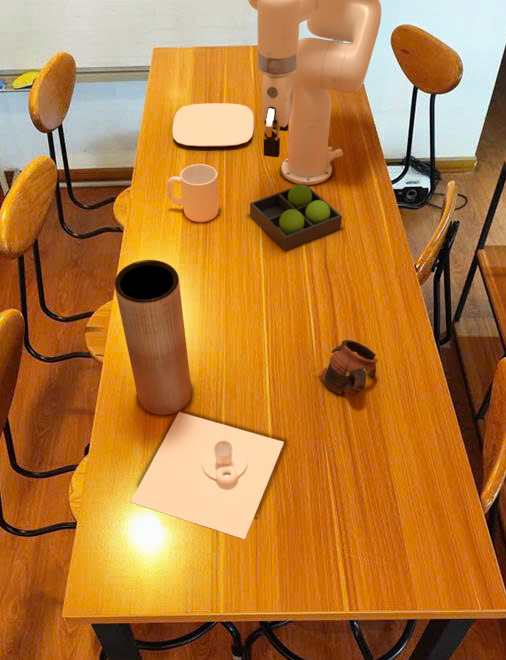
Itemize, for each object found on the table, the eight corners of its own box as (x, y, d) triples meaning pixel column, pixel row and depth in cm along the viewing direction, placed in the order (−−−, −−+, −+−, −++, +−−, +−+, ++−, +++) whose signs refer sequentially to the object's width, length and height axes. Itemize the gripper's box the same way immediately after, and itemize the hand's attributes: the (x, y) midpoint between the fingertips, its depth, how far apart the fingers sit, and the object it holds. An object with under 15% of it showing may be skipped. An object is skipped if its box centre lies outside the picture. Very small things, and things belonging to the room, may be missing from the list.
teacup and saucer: (236, 491, 114) (236, 477, 111) (192, 477, 116) (190, 464, 112) (254, 450, 119) (254, 436, 116) (211, 437, 121) (210, 423, 118)
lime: (293, 224, 158) (296, 202, 154) (307, 236, 155) (310, 214, 151) (273, 229, 156) (275, 207, 152) (286, 242, 153) (289, 220, 149)
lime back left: (302, 197, 164) (303, 176, 160) (315, 209, 161) (317, 188, 157) (282, 204, 163) (283, 184, 158) (295, 217, 160) (297, 196, 155)
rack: (303, 196, 166) (304, 182, 163) (340, 228, 158) (341, 215, 155) (250, 215, 161) (249, 202, 158) (284, 251, 153) (285, 237, 150)
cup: (215, 224, 159) (213, 186, 151) (164, 219, 161) (160, 181, 153) (222, 203, 164) (220, 165, 157) (173, 199, 166) (169, 161, 158)
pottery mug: (312, 368, 131) (331, 331, 127) (353, 379, 135) (373, 344, 131) (331, 404, 122) (353, 366, 118) (375, 415, 125) (397, 378, 121)
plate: (253, 150, 179) (253, 144, 178) (170, 151, 179) (169, 145, 178) (253, 108, 193) (253, 102, 191) (176, 109, 193) (175, 103, 192)
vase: (192, 413, 124) (179, 299, 103) (137, 417, 124) (113, 303, 102) (190, 372, 130) (178, 256, 109) (138, 376, 130) (115, 261, 109)
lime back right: (320, 213, 160) (321, 192, 156) (333, 225, 157) (336, 205, 153) (299, 221, 159) (301, 200, 154) (313, 233, 156) (315, 213, 151)
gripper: (289, 84, 123) (286, 168, 137) (305, 40, 134) (301, 122, 147) (248, 80, 124) (249, 164, 138) (267, 37, 135) (266, 118, 148)
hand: (276, 142), depth 143 cm, fingers open, 9 cm apart
